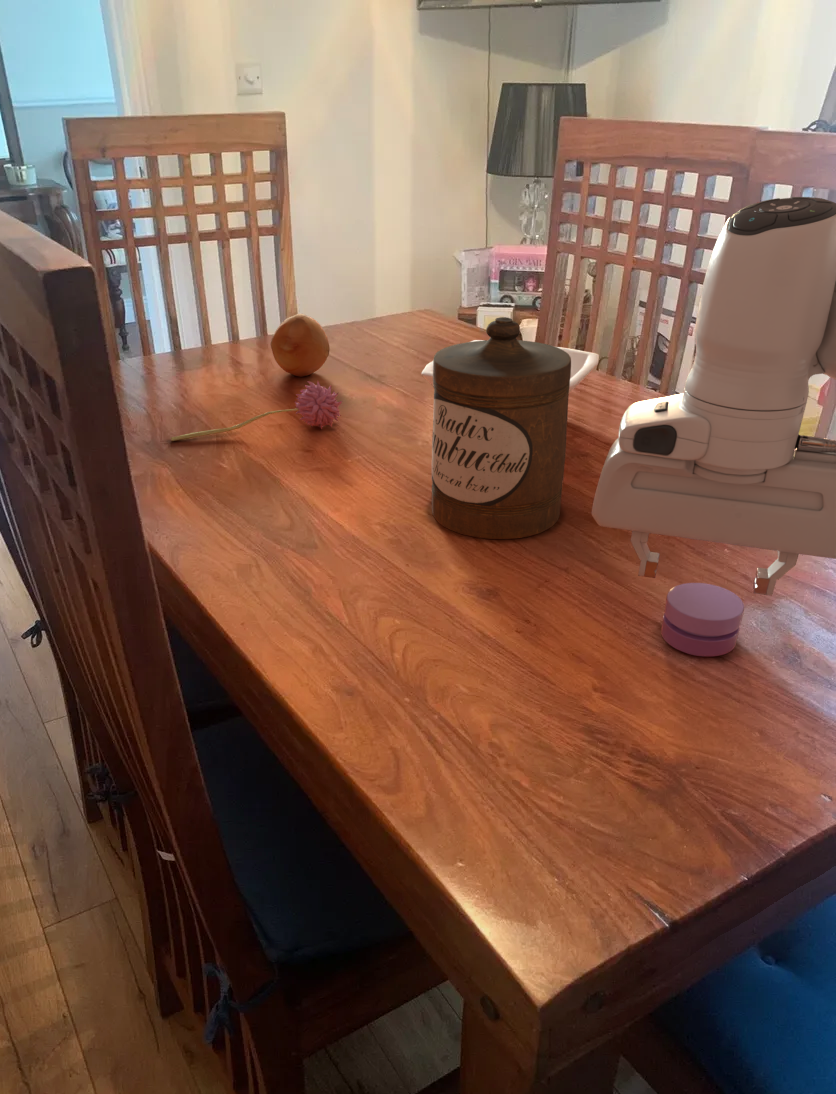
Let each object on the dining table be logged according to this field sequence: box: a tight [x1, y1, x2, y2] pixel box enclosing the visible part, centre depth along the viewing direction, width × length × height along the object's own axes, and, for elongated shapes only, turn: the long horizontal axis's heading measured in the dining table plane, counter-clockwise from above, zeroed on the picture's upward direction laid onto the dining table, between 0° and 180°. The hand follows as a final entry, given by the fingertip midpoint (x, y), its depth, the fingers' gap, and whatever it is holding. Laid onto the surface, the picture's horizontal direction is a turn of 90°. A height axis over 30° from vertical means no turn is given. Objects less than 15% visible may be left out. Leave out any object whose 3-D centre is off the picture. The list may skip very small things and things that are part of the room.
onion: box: [270, 313, 331, 377], centre depth 147 cm, size 10×10×10 cm
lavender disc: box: [663, 582, 745, 637], centre depth 75 cm, size 6×6×2 cm
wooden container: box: [431, 316, 571, 540], centre depth 95 cm, size 15×15×22 cm
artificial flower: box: [170, 380, 343, 442], centre depth 123 cm, size 7×7×25 cm
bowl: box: [420, 339, 600, 394], centre depth 125 cm, size 22×23×8 cm
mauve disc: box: [660, 612, 741, 657], centre depth 76 cm, size 6×6×2 cm
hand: (703, 582), depth 74 cm, fingers open, 8 cm apart
